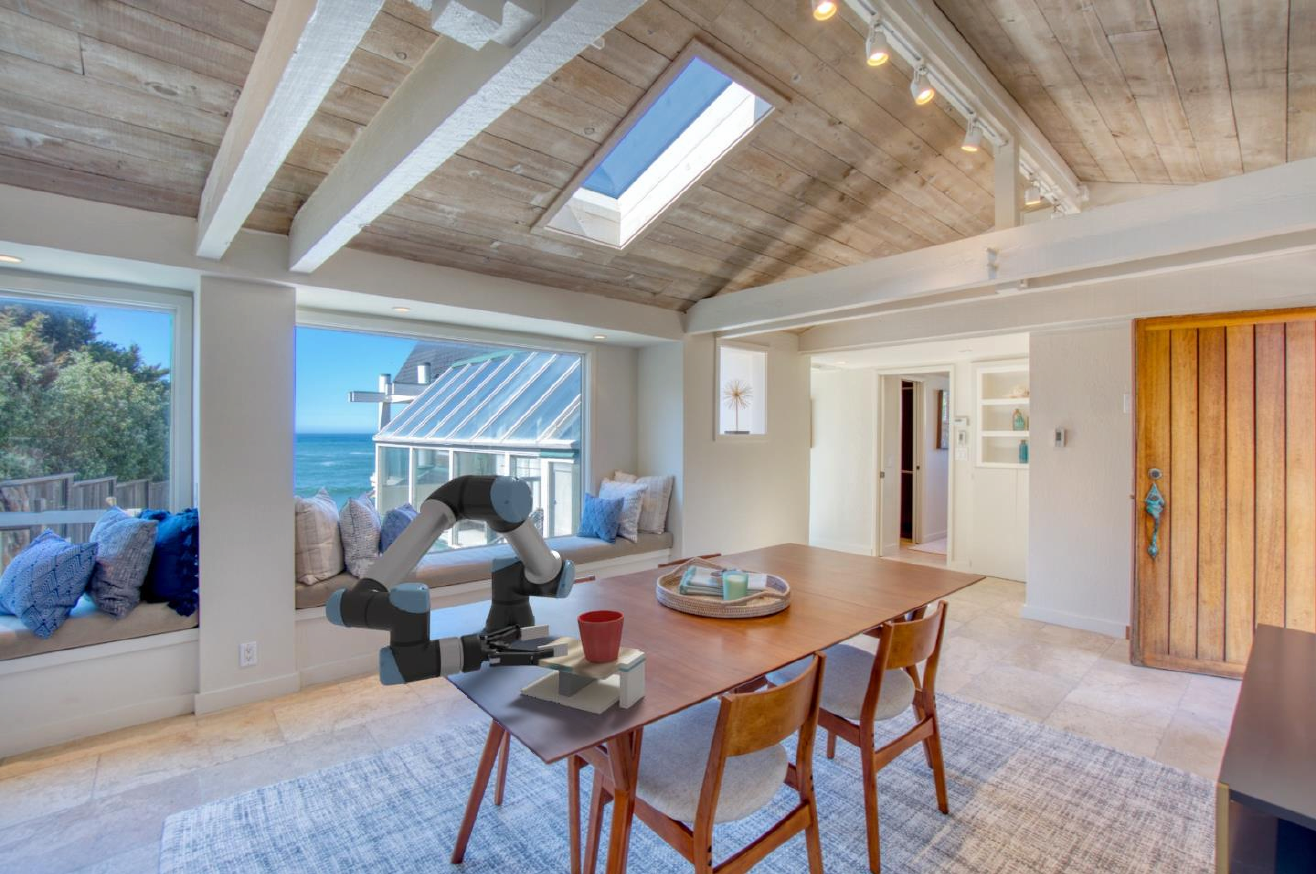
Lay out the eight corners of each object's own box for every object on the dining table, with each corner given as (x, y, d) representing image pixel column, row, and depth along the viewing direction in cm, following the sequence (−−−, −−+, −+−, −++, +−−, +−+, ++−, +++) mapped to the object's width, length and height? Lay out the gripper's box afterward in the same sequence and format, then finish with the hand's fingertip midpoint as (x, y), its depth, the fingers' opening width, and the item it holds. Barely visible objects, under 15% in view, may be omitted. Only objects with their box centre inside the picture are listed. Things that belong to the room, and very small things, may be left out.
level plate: (521, 663, 141) (521, 657, 141) (563, 642, 155) (562, 636, 155) (603, 680, 130) (603, 673, 130) (640, 656, 144) (639, 649, 144)
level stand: (520, 693, 140) (521, 651, 140) (566, 667, 156) (566, 629, 156) (615, 718, 128) (615, 672, 128) (655, 687, 144) (655, 645, 144)
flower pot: (578, 650, 145) (578, 610, 145) (624, 648, 146) (623, 608, 146) (576, 666, 134) (576, 623, 134) (625, 664, 135) (624, 621, 135)
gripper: (451, 653, 136) (541, 638, 146) (470, 695, 114) (575, 675, 124) (451, 620, 136) (541, 608, 146) (470, 656, 114) (575, 639, 124)
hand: (557, 639), depth 135 cm, fingers open, 13 cm apart
